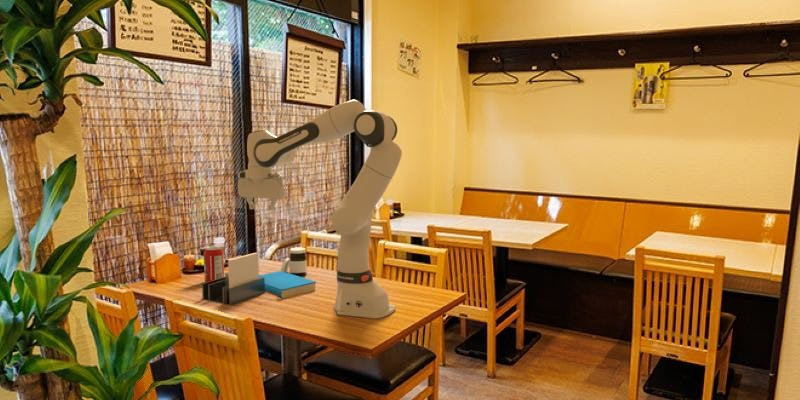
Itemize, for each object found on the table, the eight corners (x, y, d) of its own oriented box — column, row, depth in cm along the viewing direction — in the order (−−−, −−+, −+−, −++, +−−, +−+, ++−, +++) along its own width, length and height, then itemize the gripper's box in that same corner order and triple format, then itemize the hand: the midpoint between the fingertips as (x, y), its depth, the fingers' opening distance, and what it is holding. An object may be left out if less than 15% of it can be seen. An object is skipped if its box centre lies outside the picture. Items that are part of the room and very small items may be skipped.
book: (280, 270, 238) (316, 280, 221) (281, 280, 238) (316, 290, 221) (245, 278, 225) (280, 289, 208) (246, 288, 226) (281, 299, 209)
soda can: (218, 285, 227) (217, 250, 225) (201, 284, 228) (199, 249, 226) (227, 280, 234) (226, 246, 233) (210, 279, 236) (209, 245, 234)
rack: (266, 295, 213) (265, 270, 211) (232, 308, 197) (231, 281, 196) (235, 290, 220) (234, 265, 219) (200, 301, 204) (199, 275, 203)
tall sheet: (259, 293, 212) (258, 253, 210) (232, 303, 199) (231, 260, 197) (256, 292, 212) (255, 252, 210) (229, 302, 200) (228, 259, 198)
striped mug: (307, 276, 242) (307, 250, 240) (281, 277, 239) (280, 252, 238) (305, 270, 253) (305, 245, 252) (281, 271, 251) (280, 246, 249)
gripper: (287, 173, 205) (288, 209, 206) (245, 172, 214) (247, 207, 216) (276, 174, 199) (278, 211, 201) (234, 173, 208) (236, 209, 210)
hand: (261, 209), depth 208 cm, fingers open, 8 cm apart
